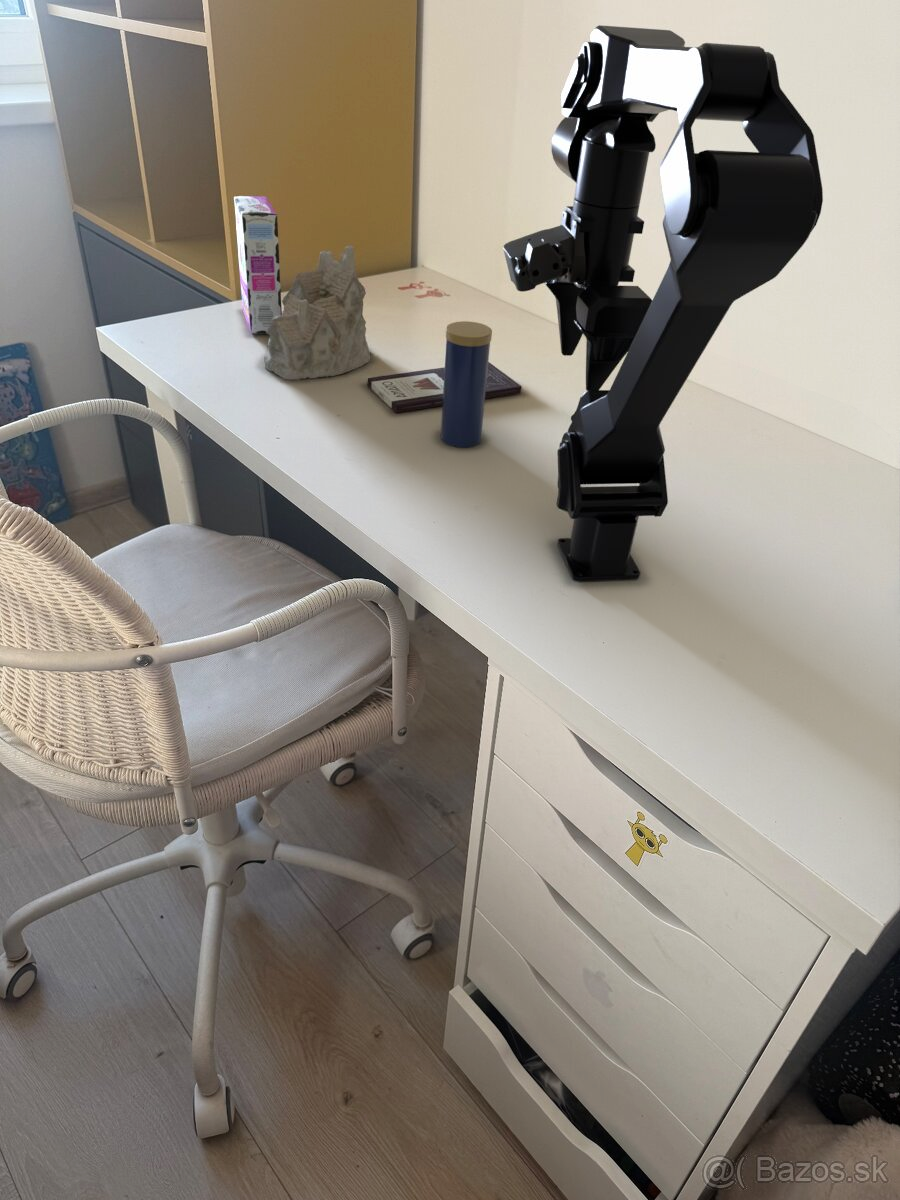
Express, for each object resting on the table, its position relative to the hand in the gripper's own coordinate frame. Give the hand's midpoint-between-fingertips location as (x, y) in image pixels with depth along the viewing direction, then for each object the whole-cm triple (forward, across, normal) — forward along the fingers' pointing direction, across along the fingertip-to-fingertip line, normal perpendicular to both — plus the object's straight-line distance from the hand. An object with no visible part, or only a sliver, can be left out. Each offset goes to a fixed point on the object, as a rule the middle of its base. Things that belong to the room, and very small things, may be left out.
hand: (578, 372), depth 82 cm
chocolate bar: (+13, -26, -9) cm, 30 cm away
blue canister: (+13, -12, -9) cm, 20 cm away
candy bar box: (+13, -51, -33) cm, 62 cm away
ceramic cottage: (+13, -38, -26) cm, 48 cm away
